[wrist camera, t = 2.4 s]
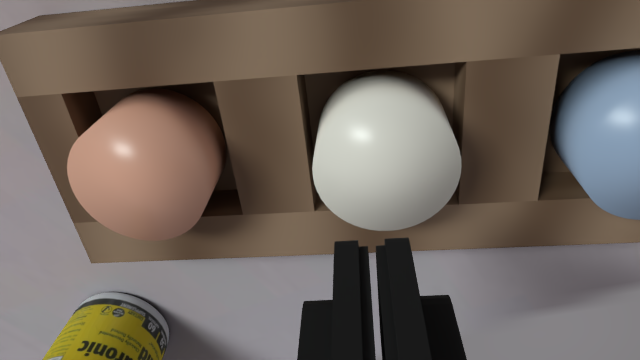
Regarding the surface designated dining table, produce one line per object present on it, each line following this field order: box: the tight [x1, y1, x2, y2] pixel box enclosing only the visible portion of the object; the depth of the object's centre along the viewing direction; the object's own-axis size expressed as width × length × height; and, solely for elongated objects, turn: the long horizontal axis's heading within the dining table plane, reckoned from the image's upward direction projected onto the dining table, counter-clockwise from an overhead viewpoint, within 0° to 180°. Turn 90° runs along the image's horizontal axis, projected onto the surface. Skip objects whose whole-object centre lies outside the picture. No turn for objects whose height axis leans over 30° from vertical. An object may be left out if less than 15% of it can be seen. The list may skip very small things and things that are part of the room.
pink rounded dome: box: [67, 88, 226, 241], centre depth 18 cm, size 5×5×3 cm
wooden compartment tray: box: [0, 0, 640, 263], centre depth 19 cm, size 26×10×3 cm, turn 96°
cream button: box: [312, 70, 461, 231], centre depth 17 cm, size 5×5×3 cm
